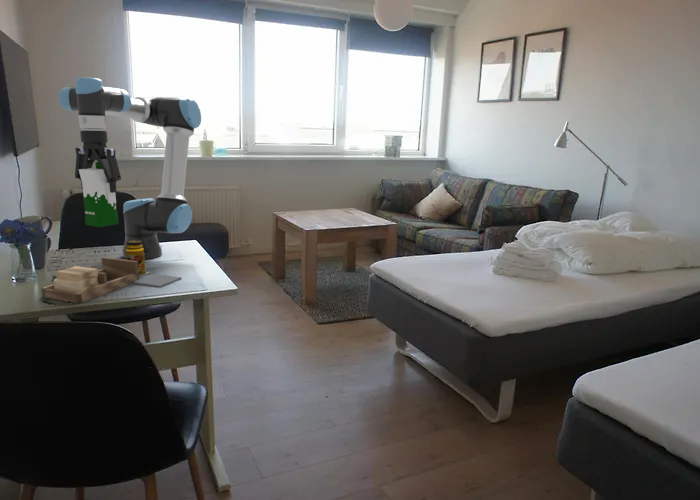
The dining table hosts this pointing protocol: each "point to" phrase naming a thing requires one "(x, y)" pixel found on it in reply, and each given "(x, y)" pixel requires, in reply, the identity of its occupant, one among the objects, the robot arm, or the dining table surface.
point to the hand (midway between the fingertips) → (100, 201)
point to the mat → (157, 280)
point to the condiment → (136, 255)
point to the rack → (100, 281)
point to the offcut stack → (76, 279)
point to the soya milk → (97, 198)
